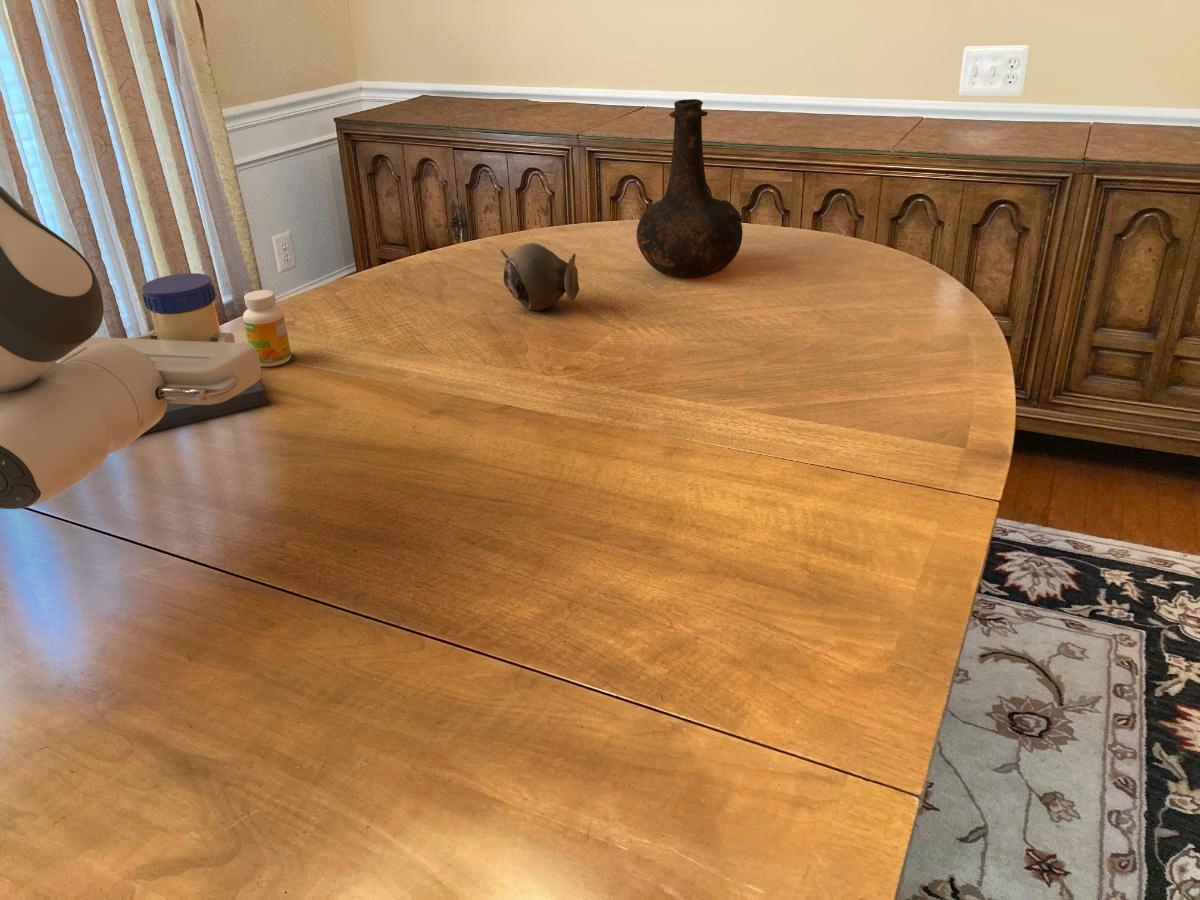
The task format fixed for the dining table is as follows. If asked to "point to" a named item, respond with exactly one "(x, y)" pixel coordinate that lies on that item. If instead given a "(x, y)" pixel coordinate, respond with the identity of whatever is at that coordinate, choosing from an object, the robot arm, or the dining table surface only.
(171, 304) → the lid
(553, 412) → the dining table surface
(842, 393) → the dining table surface
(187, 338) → the jar
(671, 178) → the glass bottle
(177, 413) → the tray
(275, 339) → the supplement bottle
